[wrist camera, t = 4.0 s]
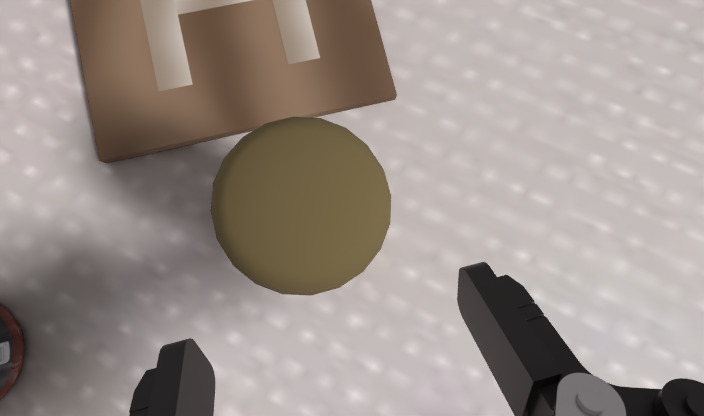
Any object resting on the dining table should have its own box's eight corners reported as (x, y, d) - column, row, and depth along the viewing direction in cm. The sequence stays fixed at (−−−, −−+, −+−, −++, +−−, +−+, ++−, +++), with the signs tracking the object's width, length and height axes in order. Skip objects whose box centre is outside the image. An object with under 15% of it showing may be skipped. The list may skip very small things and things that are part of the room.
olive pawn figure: (235, 223, 20) (124, 186, 10) (320, 150, 21) (309, 38, 10) (311, 309, 20) (286, 373, 9) (395, 232, 21) (464, 206, 10)
